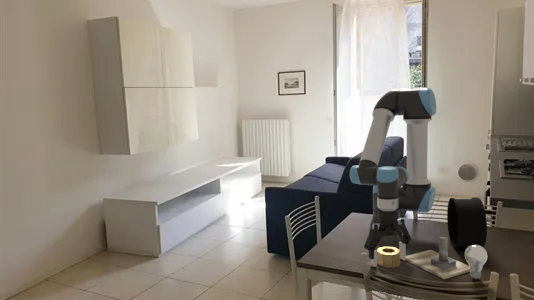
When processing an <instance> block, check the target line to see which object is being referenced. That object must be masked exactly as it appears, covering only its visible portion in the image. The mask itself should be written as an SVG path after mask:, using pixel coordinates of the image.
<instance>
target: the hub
mask: <svg viewBox="0 0 534 300" xmlns="http://www.w3.org/2000/svg"><path fill="white" fill-rule="evenodd" d="M376 251H377V265H378V266H380V267H382V268H390V269H392V268H396V267H397V268H398V267H400V264H401V259H400V250H399V249H398V248H397V247H394V246H382V247H381V246H380V247H378V248H377V250H376Z"/></svg>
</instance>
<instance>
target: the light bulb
mask: <svg viewBox="0 0 534 300" xmlns="http://www.w3.org/2000/svg"><path fill="white" fill-rule="evenodd" d="M464 259H465V261H466V262H467V264H468V266H469V268H470V272H469V275H470V277H471V278H472V279H473V280H478V279H480V278H481V277H482V271H483V267H484V265H485V264H486V262H487V260H488V252H487V250H486V249H485V247H482V246H480V245H470V246H469V247H466V248H465V250H464Z"/></svg>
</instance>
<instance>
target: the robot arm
mask: <svg viewBox="0 0 534 300" xmlns="http://www.w3.org/2000/svg"><path fill="white" fill-rule="evenodd" d="M436 99H437V98H436V96H435V93H434V91H433V90H432V88H429V87H412V88H411V87H410V88H409V87H408V88H394V89H391V90H389V91H387V92H386V93H385V94H384V95H383V96H381V97H380V98H379V99H378V101H377V102H376V104H375V105H374V107H373V111H372V114H371V115H372V121H371V124H370V128H369V131H368V134H367V137H366V140H365V144H364V147H363V150H362V153H361V156H360V159H359V162H358V165H357V164H356V165H352V166H351V167H350V170H349V179H350V182H351V183H352V184H356V185H361V186H364V185H365V186H366V185H367V186H373V187H372V210H373V211H372V212H373V213H372V217H371V220H370V223H369V233H368V236H367V238H366V241H365V243H364V245H363V249H365V250H367V251H368V258H369V259H370V261H369V262H370V263H372V264H374V265H376V266H377V265H378V264H377V250H376V249H377V247H378V245H379V243H380V242H381V240H382V239H383V238H384V237H385V236H394V235H395V236H396V237H397V238H398V240H399V242H398V245H399V247H398V248H399V250H400V260H402V261H405V260H406V256H407V255H406V253H407V251H408V245H409V244H410V242H411V241H412V237H411V235H410V232H409V231H408V227H407V226H406V224H405V222H406V221H405V219H404V218H403V217H402V218H401V214H400V211H406V212H407V211H408V212H415V213H429V212H430V211H431V210H432V208H433V206H434V203H435V198H436V188H435V186H432V181H431V180H430V179H429V178H428V142H429V139H428V134H429V133H428V132H429V130H428V126H429V125H428V124H429V123H430V121H432V116H435V115H436V113H437V102H436V101H437V100H436ZM397 116H402V120H403V121H404V122H405V123H406V168H405V167H403V166H391V165H389V166H388V165H387V166H384V165H383V166H379V163H380V159H381V156H382V153H383V148H384V146H385V142H386V139H387V137H388V132H389V129H390V125H391V123H392V122H394V120H395V118H396V117H397Z"/></svg>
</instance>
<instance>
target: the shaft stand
mask: <svg viewBox="0 0 534 300" xmlns="http://www.w3.org/2000/svg"><path fill="white" fill-rule="evenodd" d="M405 261H406V262H408V263H409V264H412V265H414V266H416V267H418V268H420V269H422V270H424V271H426V272H428V273H430V274H431V275H434V276H437V277H439V278H441V279H442V280H446V279H449V278H452V277H456V276H457V277H458V276H460V275H463V274H466V273H470V268H469V264H468V265H467V264H466V263H463V262H461V261H459V260H456V259H454V258H451V257H449V238H448V237H445V236H440V237H438V252H437V251H435V250H432V249H428V250H425V251H421V252H420V251H419V252H416V253H413V254H409V255H406V260H405Z"/></svg>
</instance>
